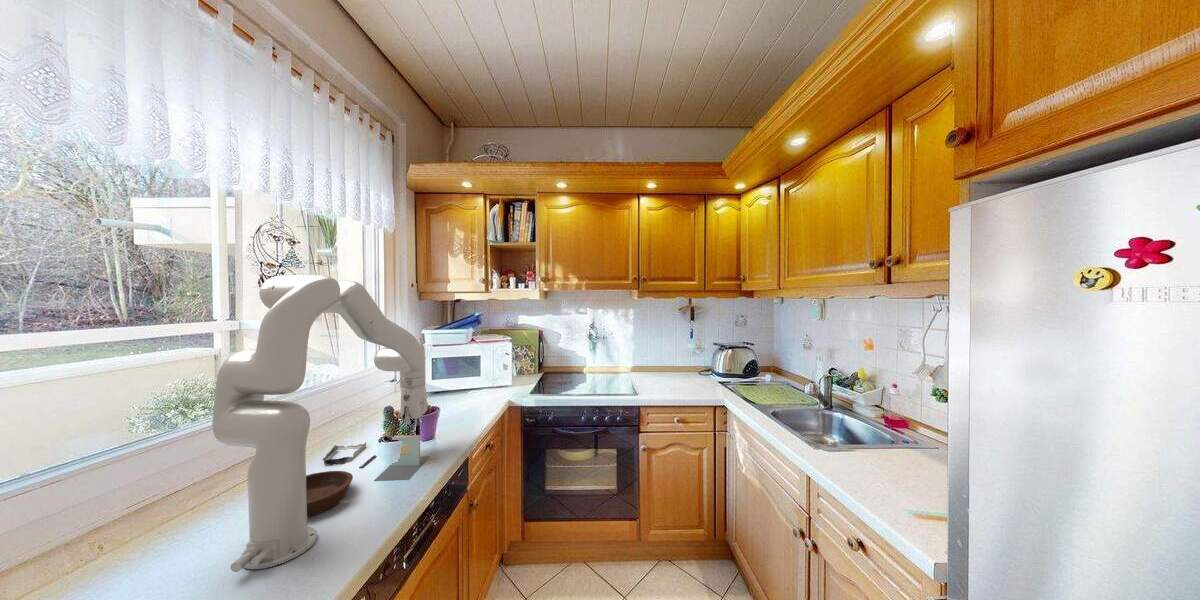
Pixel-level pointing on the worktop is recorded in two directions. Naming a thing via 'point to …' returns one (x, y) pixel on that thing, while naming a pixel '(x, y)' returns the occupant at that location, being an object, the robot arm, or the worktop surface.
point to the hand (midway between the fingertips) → (414, 437)
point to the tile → (408, 450)
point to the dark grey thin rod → (368, 461)
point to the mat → (400, 471)
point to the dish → (326, 490)
